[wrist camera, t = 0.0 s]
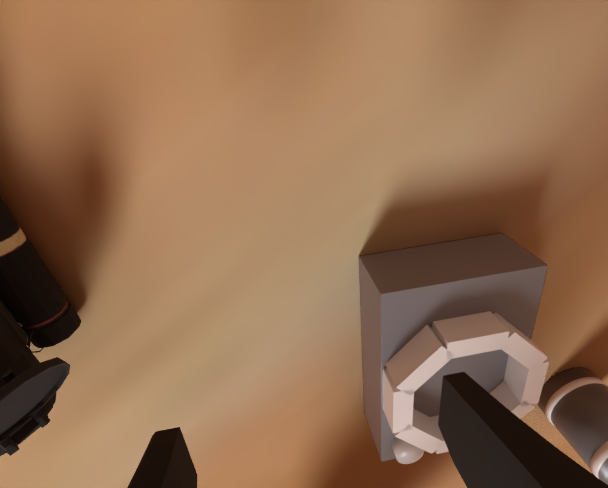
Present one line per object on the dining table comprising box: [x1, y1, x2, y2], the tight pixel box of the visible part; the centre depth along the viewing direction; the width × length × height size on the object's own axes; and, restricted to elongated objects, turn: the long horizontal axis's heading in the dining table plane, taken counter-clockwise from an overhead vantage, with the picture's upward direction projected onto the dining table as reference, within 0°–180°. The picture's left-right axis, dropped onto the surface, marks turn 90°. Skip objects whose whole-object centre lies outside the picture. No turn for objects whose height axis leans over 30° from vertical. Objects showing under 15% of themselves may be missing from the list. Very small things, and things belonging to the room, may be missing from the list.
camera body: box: [359, 233, 549, 464], centre depth 21 cm, size 12×8×5 cm, turn 6°
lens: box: [537, 367, 608, 485], centre depth 26 cm, size 4×4×6 cm
